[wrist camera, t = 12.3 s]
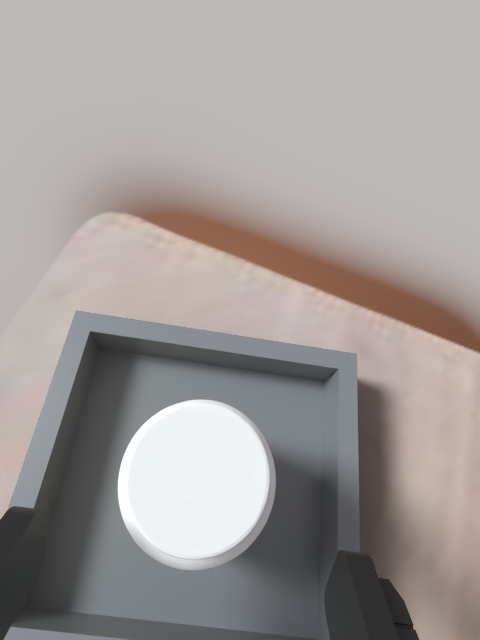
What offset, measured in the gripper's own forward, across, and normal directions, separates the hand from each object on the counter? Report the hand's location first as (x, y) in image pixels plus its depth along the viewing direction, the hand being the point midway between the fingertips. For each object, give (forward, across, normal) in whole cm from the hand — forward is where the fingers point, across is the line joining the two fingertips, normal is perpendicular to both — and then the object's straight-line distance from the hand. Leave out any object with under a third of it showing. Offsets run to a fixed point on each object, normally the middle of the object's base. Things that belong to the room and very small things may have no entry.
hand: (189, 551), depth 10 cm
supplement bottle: (+8, 0, +5) cm, 9 cm away
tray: (+8, 0, +5) cm, 10 cm away
